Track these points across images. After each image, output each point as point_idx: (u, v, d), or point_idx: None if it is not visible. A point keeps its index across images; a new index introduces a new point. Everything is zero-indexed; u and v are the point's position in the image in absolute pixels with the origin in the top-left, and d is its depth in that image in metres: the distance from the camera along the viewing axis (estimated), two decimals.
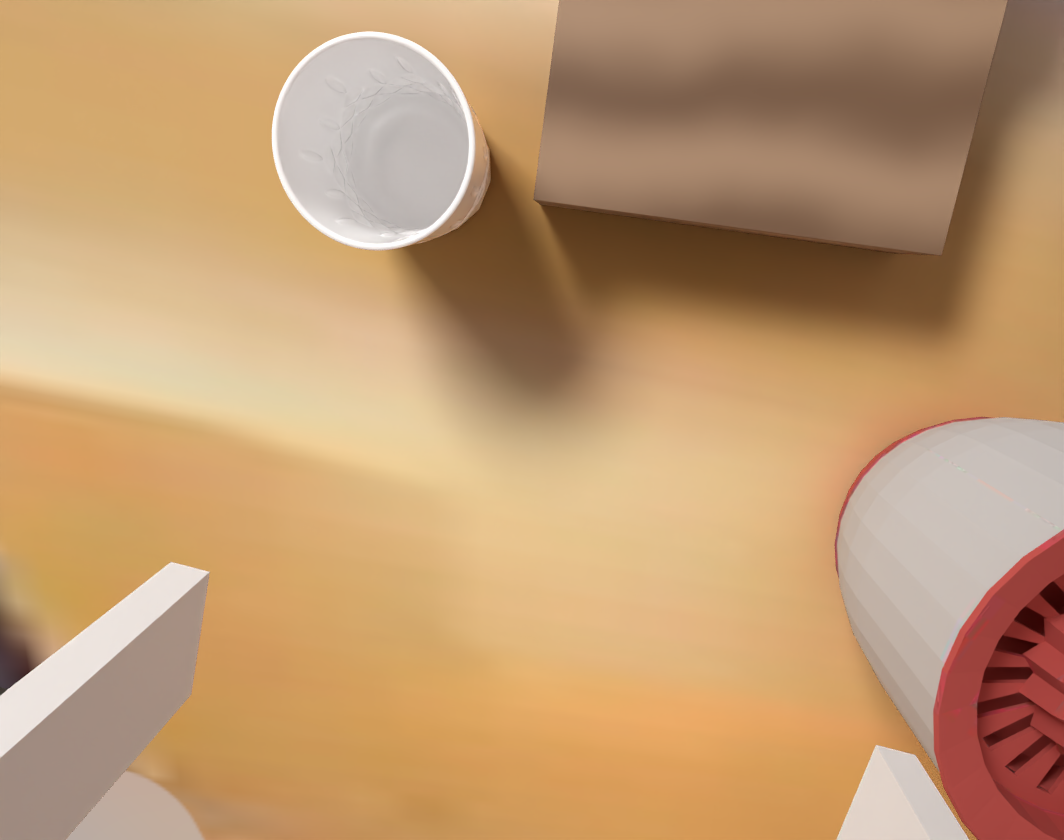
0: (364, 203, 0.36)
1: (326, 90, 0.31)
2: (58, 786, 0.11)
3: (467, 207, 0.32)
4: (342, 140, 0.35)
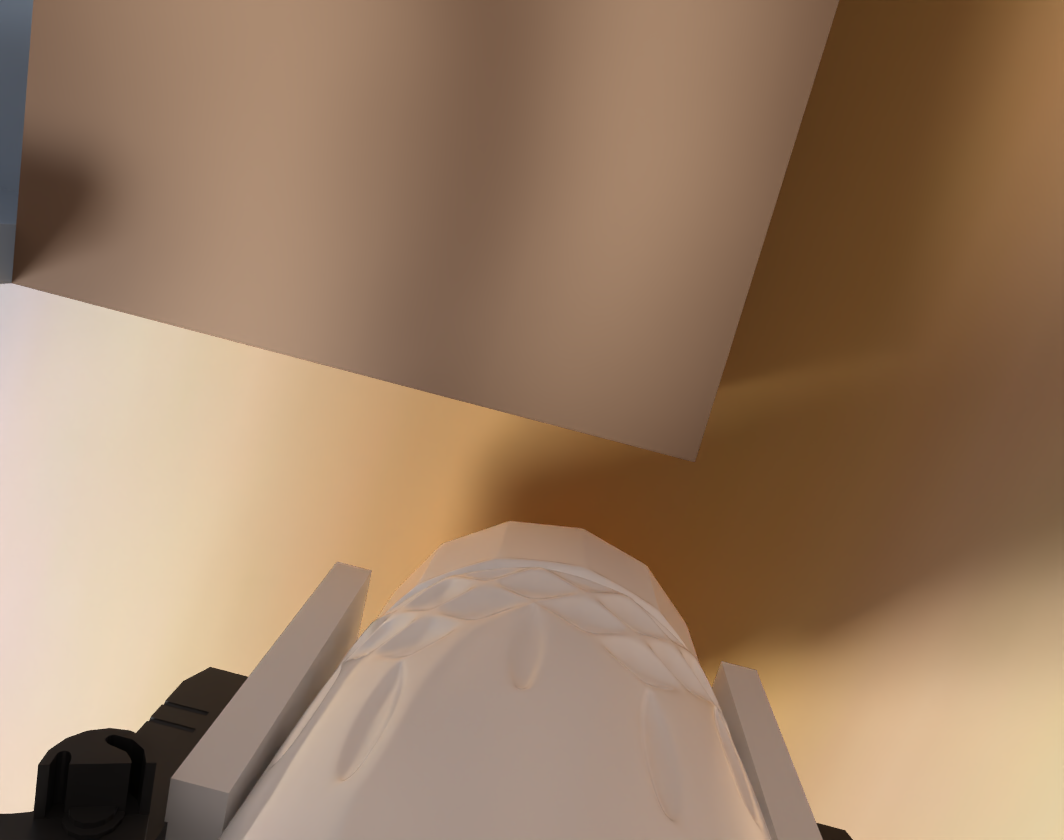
0: None
1: None
2: None
3: (706, 767, 0.09)
4: None
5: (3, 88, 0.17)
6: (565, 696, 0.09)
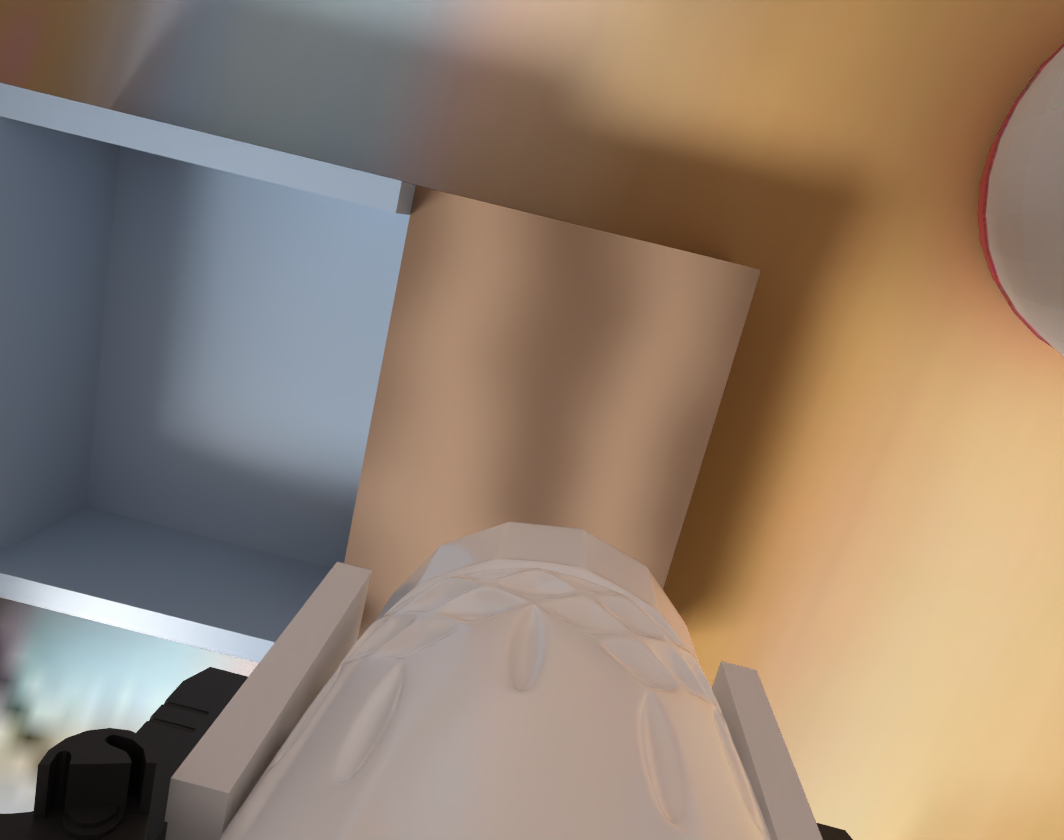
0: None
1: None
2: None
3: (706, 769, 0.09)
4: None
5: (285, 511, 0.34)
6: (565, 697, 0.09)
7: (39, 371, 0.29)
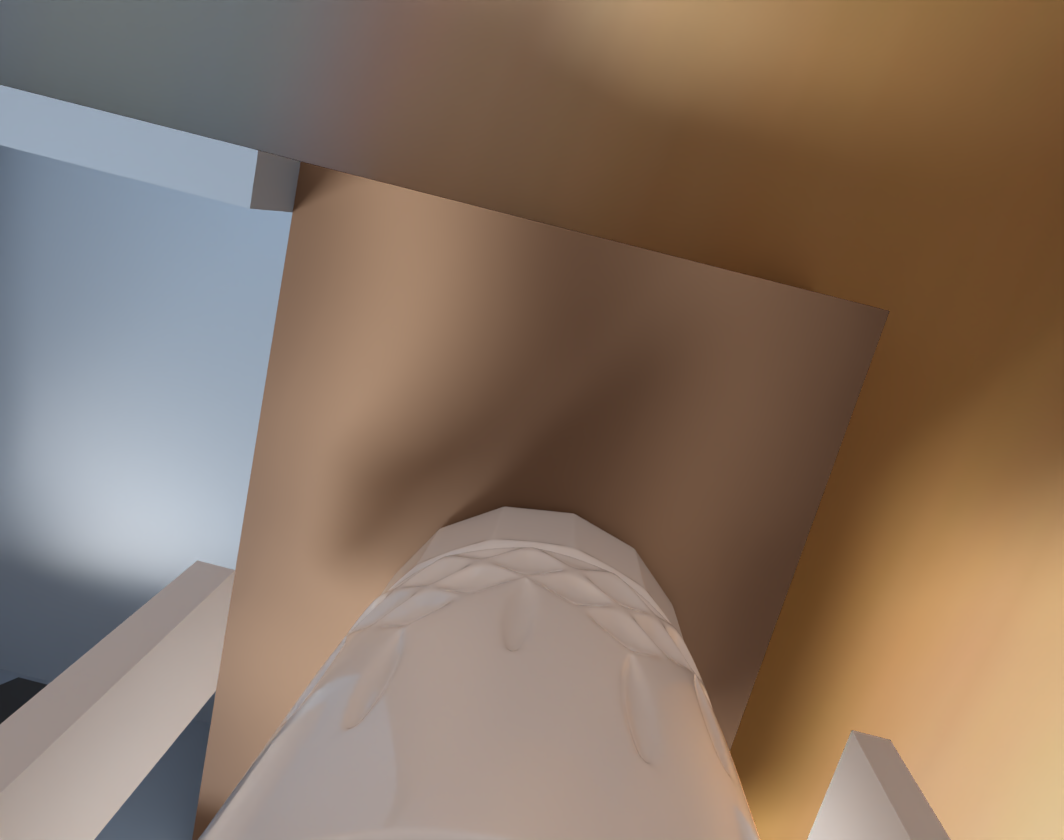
0: None
1: None
2: (96, 777, 0.11)
3: (682, 722, 0.10)
4: None
5: None
6: (553, 657, 0.10)
7: None
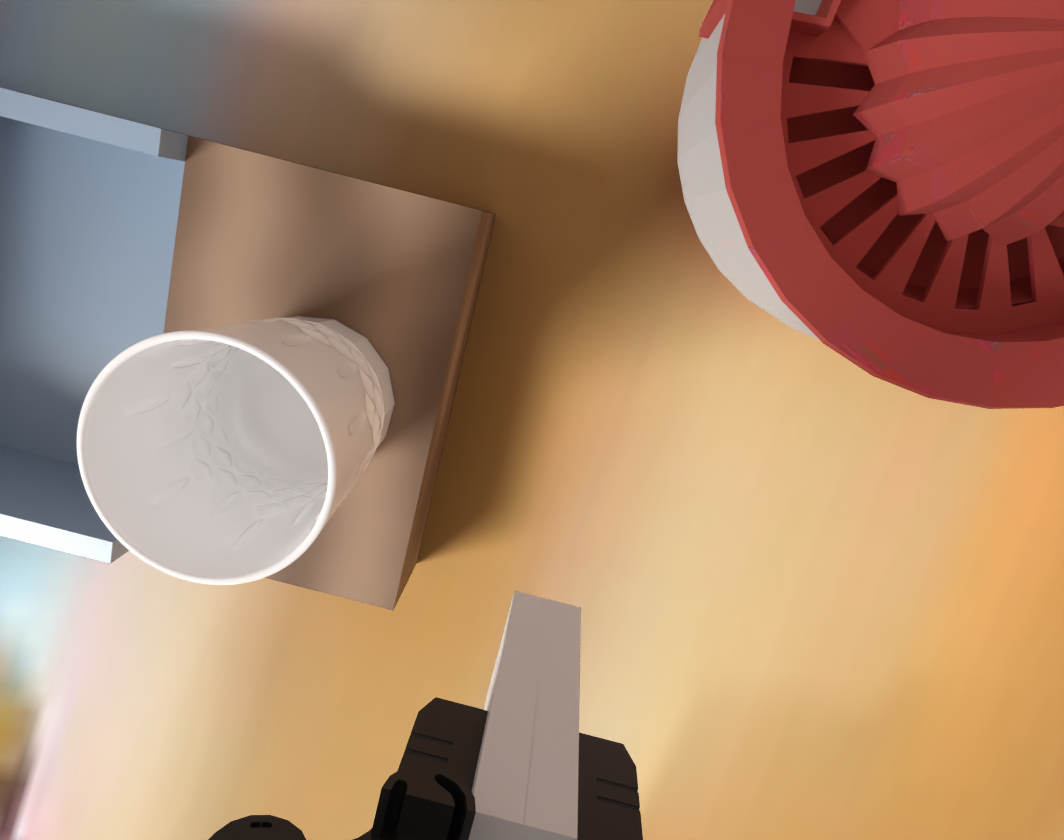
0: None
1: (172, 503, 0.26)
2: None
3: (318, 352, 0.25)
4: (258, 489, 0.29)
5: None
6: (266, 326, 0.25)
7: None
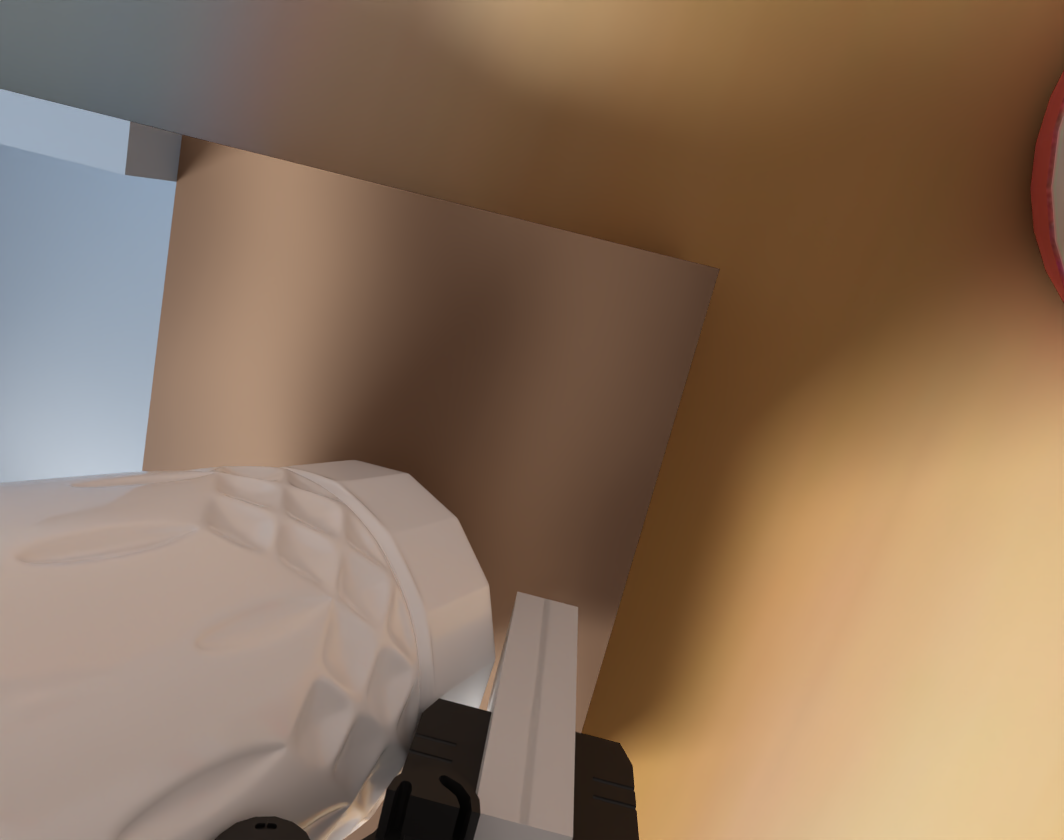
0: None
1: None
2: None
3: (164, 579, 0.10)
4: None
5: None
6: (91, 495, 0.11)
7: None
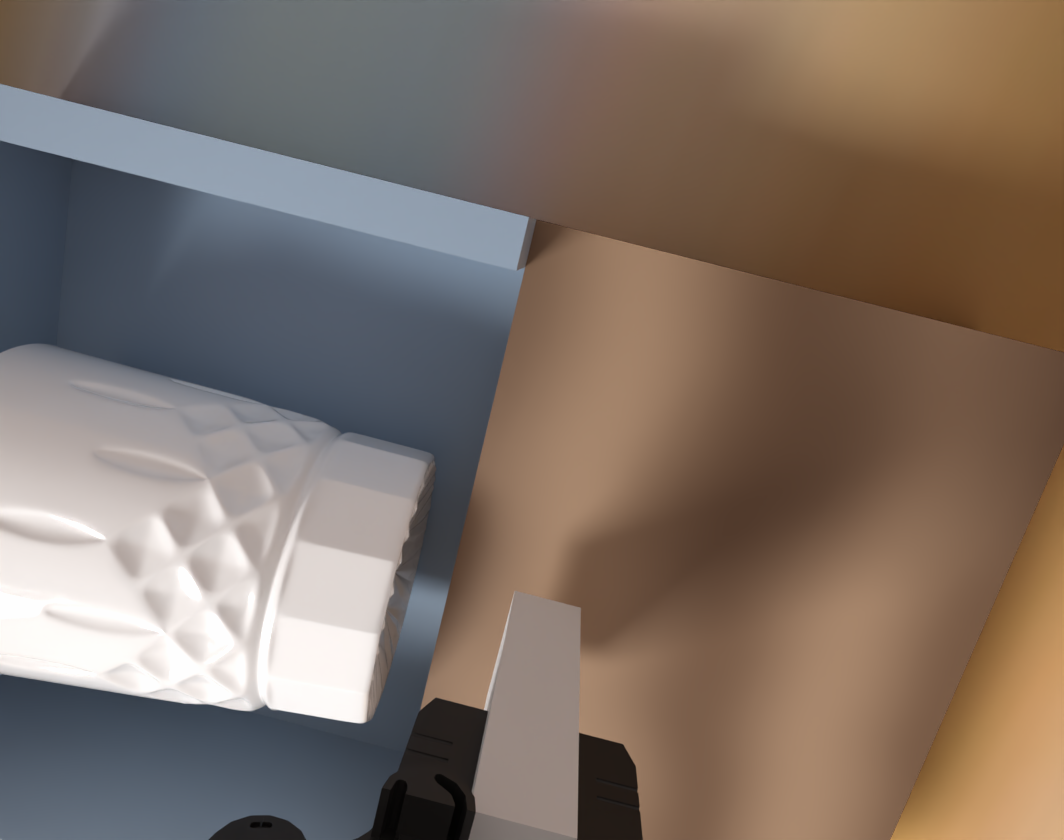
0: None
1: None
2: None
3: (115, 417, 0.16)
4: None
5: None
6: (160, 381, 0.18)
7: None
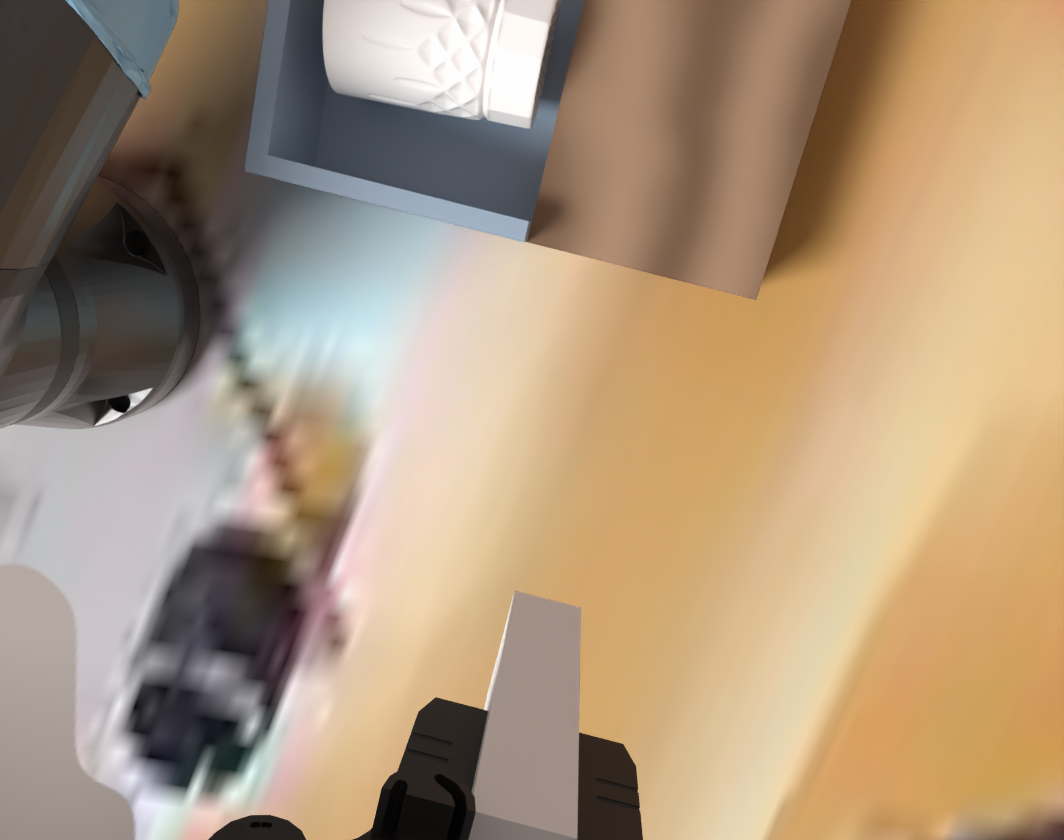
0: None
1: None
2: None
3: None
4: None
5: (477, 167, 0.42)
6: None
7: (311, 15, 0.37)
